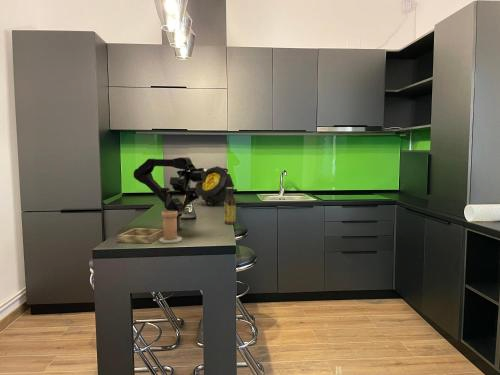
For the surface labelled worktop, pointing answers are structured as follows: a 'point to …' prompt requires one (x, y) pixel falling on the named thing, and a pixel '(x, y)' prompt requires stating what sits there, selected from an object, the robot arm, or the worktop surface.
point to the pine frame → (133, 238)
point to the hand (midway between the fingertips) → (174, 207)
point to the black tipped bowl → (215, 185)
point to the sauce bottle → (229, 207)
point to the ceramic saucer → (170, 240)
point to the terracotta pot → (170, 224)
